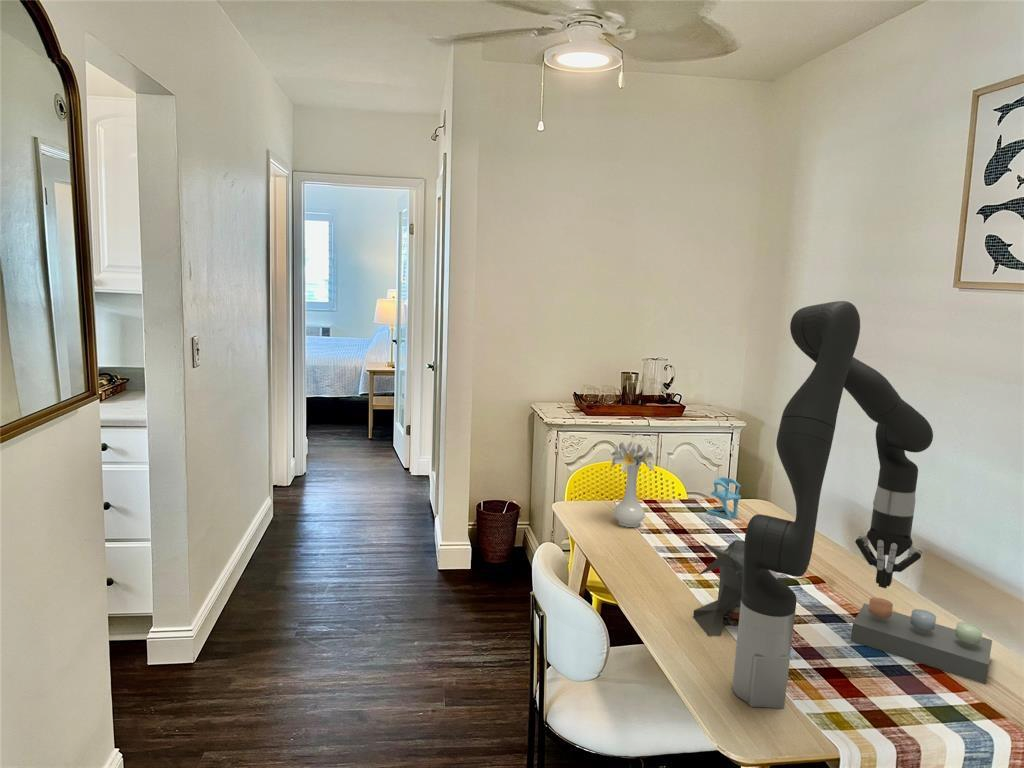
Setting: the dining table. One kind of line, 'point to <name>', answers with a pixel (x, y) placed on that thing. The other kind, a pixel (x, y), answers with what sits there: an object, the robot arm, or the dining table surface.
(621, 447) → the flower vase
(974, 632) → the sage button
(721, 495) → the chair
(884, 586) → the robot arm
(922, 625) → the slate button
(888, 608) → the terracotta button
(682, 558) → the dining table surface
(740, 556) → the grey finned figurine
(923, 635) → the console
